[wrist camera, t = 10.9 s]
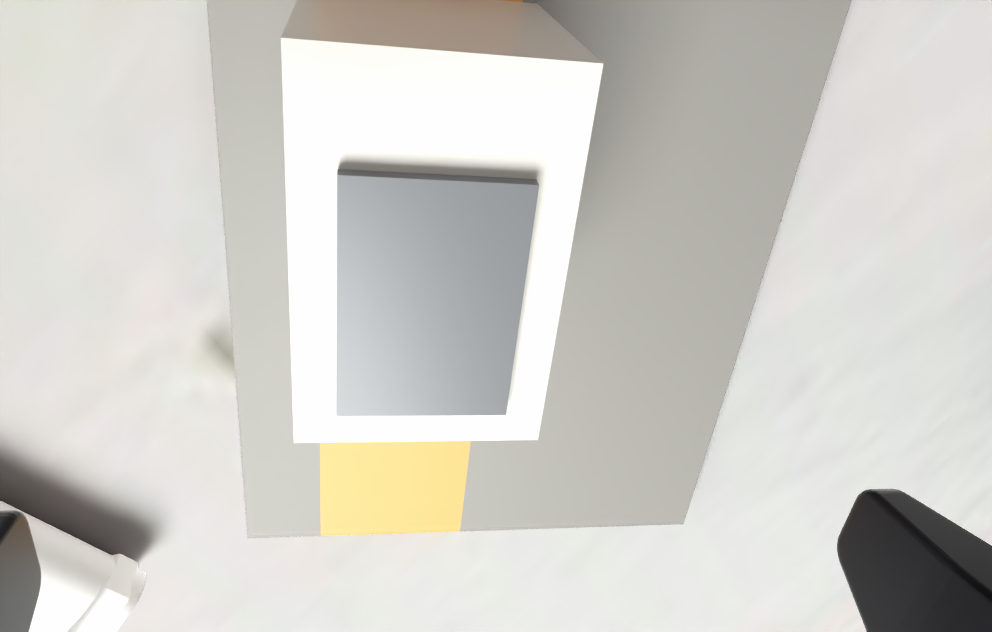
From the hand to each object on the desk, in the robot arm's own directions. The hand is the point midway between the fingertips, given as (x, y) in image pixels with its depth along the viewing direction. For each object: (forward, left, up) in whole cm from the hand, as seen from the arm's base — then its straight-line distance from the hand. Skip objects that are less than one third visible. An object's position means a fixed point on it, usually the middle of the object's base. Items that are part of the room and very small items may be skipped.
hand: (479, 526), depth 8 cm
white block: (0, 0, -10) cm, 10 cm away
